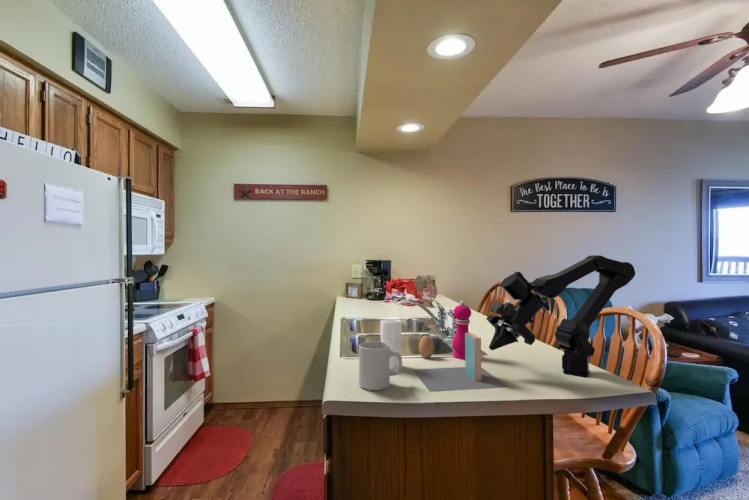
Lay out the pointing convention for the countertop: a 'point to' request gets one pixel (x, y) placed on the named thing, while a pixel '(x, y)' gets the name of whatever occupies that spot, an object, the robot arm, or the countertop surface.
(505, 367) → the countertop surface
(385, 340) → the white cylinder
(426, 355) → the egg
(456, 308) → the pepper mill
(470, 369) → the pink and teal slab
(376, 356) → the mug
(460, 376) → the charcoal rubber mat
